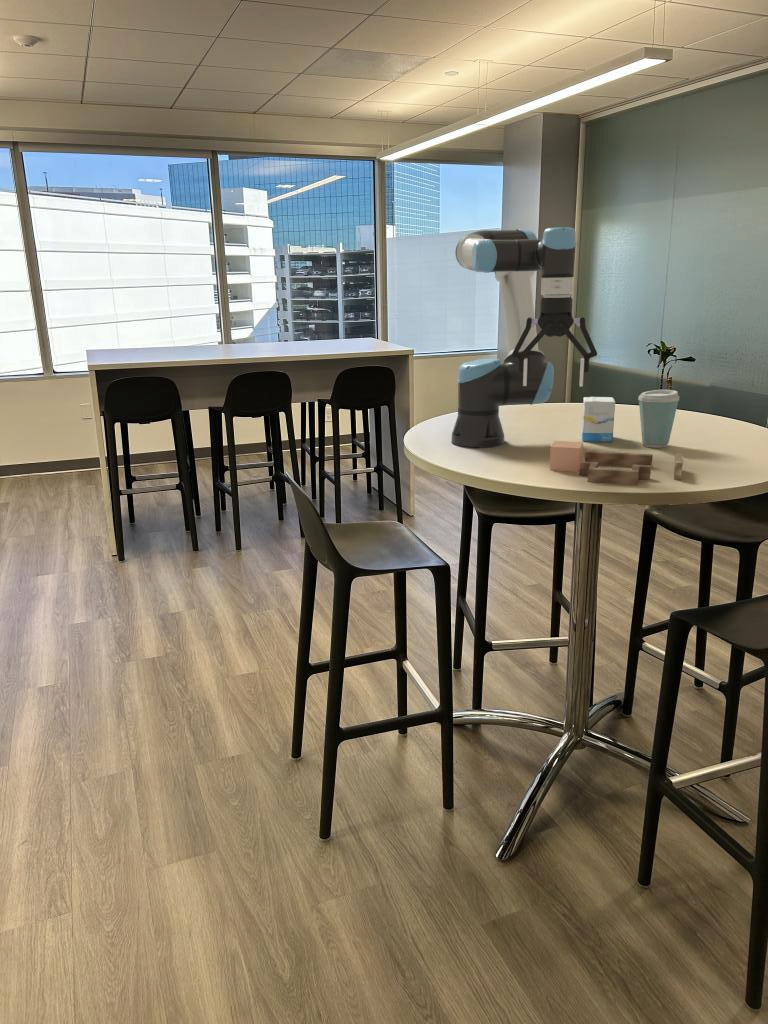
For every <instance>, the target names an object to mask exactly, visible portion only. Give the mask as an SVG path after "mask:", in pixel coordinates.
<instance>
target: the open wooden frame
mask: <svg viewBox="0 0 768 1024" xmlns="http://www.w3.org/2000/svg"><path fill="white" fill-rule="evenodd" d="M683 456H684V455H683V453H681V452H680V453H679V452H678V453H677V452H676V453H675V458H674V469H673V471H674V472H673V473H674V474H673V480H675V481H681V480H682V475H683V463H684V462H683V461H684V460H683V459H684V458H683ZM598 465H601V466H614V467H631V469H621V468H620V469H618V468H605V467H598ZM652 467H653V454H650V453H649V454H646V453H632V452H630V453H629V452H628V453H627V452H614V451H613V452H612V451H598V450H597V451H596V450H585V453H584V461H583V460H582V461H581V462H580V470H579V472H578V475H580V476H587V482H590V483H591V482H592V483H606V484H618V485H634V486H635V485H636V486H638V485H639V480H648V481H649V480H650V481H651V473H652Z"/></svg>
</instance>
